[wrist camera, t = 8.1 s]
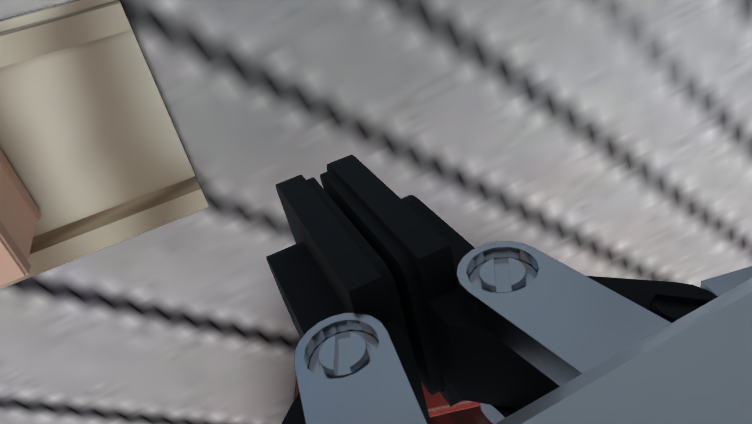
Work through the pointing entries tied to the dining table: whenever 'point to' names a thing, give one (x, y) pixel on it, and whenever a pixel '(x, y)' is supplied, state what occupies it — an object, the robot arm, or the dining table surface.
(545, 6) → the dining table surface
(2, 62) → the bay
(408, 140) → the dining table surface
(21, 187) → the pink-tan cube
